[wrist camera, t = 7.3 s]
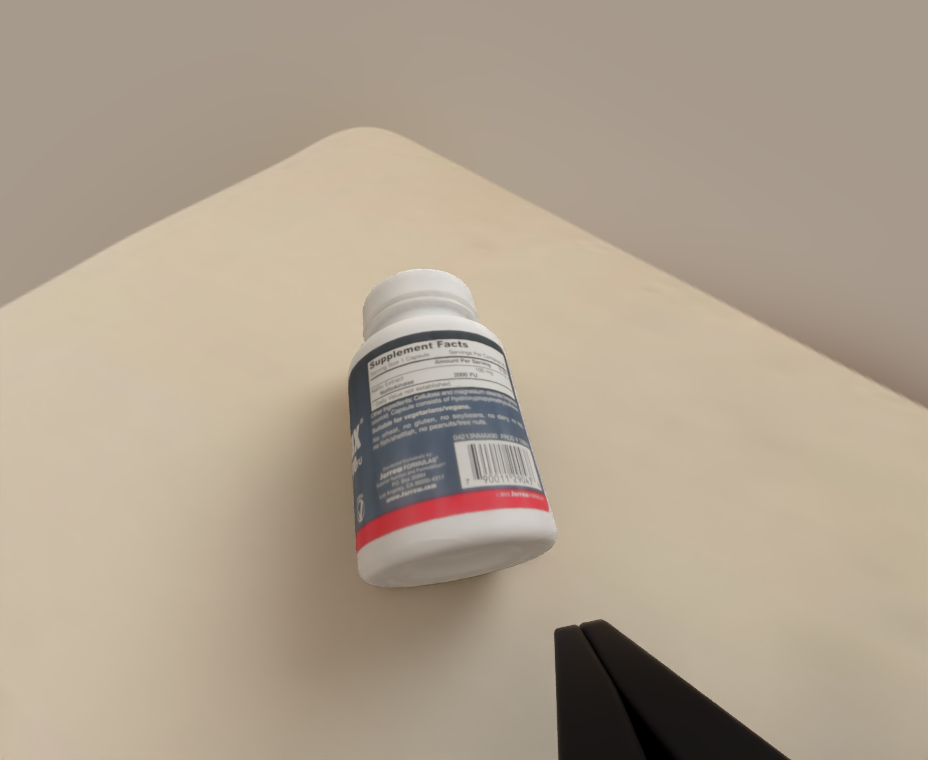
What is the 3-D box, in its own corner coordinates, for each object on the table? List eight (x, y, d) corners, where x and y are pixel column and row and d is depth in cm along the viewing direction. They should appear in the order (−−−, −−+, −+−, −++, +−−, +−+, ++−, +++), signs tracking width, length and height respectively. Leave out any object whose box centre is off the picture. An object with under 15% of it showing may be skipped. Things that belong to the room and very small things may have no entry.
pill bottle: (397, 597, 14) (376, 366, 18) (560, 559, 13) (497, 334, 18) (318, 578, 9) (317, 278, 14) (562, 520, 9) (476, 233, 13)
